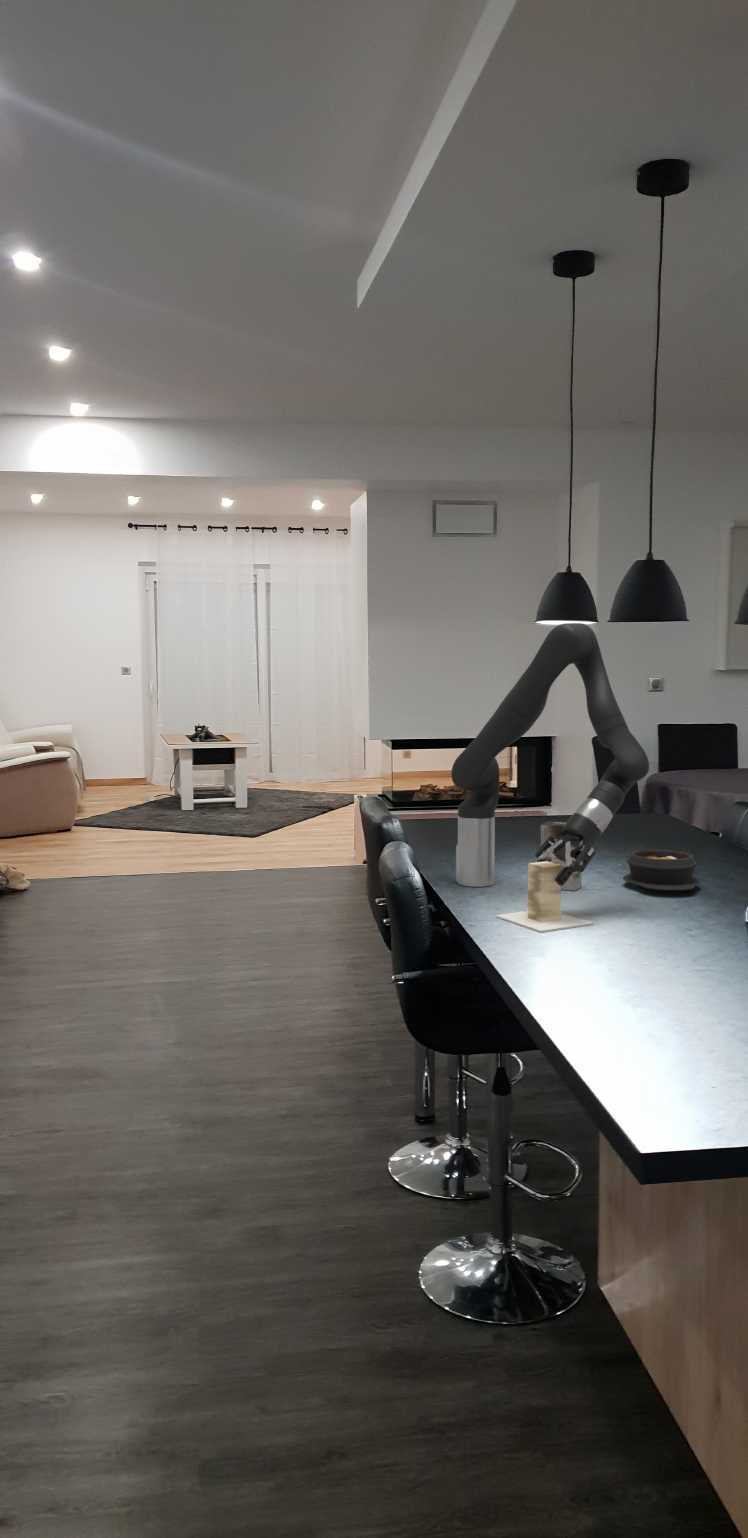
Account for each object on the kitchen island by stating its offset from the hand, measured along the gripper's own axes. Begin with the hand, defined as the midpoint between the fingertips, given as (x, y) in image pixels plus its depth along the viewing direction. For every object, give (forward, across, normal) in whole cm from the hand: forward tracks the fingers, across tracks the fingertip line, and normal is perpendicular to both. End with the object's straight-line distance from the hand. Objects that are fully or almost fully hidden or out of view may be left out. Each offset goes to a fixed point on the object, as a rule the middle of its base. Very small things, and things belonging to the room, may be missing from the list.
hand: (545, 879), depth 229 cm
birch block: (+6, 0, +6) cm, 9 cm away
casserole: (-27, -14, +40) cm, 50 cm away
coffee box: (-12, -26, +25) cm, 38 cm away
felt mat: (+7, 0, +6) cm, 9 cm away
